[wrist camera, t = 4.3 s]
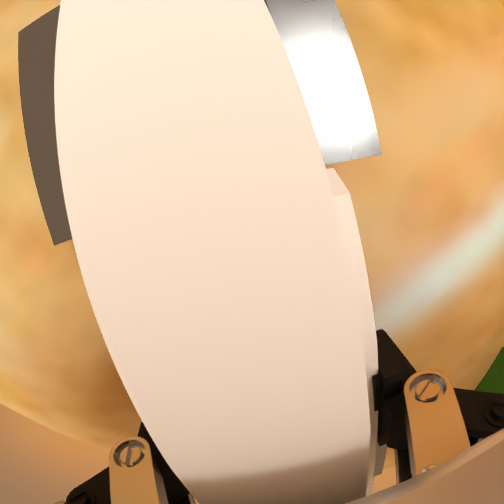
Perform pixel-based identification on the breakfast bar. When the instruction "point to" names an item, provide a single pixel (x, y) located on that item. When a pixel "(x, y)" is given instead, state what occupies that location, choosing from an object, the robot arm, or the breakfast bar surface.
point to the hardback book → (494, 376)
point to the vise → (303, 63)
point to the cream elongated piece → (217, 248)
